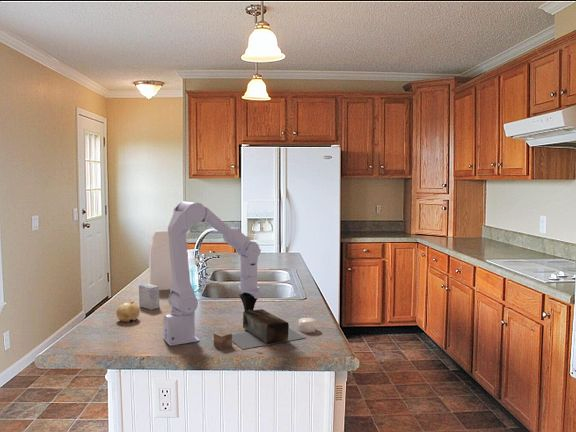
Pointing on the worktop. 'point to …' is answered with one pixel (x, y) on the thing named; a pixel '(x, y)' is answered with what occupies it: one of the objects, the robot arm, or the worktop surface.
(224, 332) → the walnut block
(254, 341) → the mat
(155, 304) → the medicine box
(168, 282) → the milk
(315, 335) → the worktop surface
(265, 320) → the beverage carton
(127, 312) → the onion
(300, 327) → the cream egg shape
